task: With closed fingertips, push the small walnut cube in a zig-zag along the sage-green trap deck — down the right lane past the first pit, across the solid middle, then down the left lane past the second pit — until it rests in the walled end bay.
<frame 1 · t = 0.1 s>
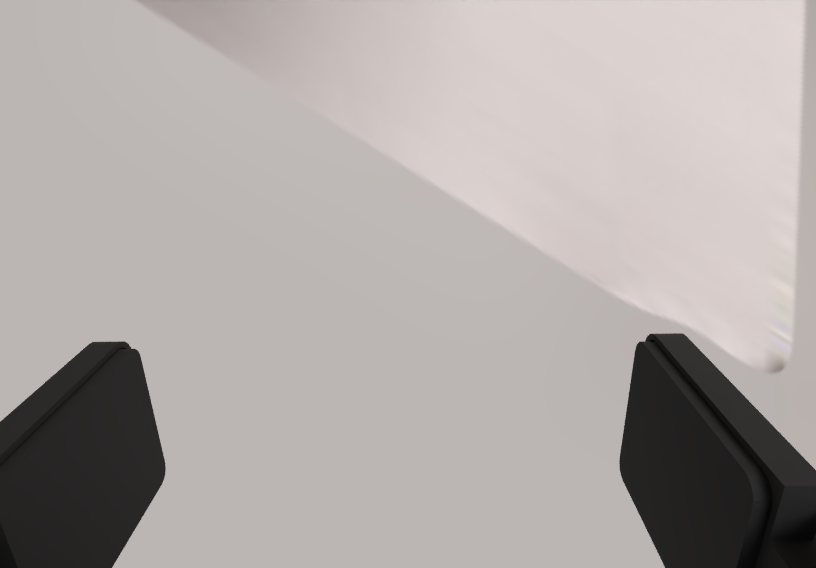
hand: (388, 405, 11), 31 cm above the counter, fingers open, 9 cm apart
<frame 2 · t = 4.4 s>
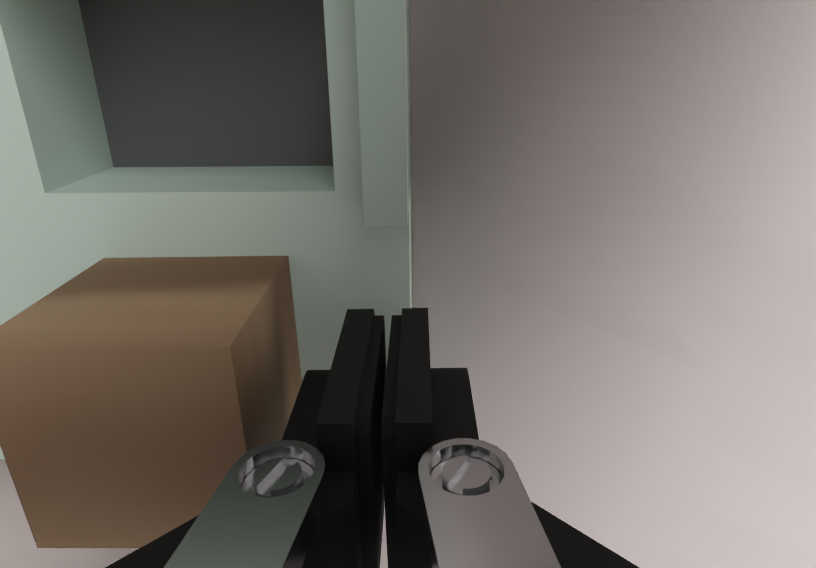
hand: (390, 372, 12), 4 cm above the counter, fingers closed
walnut block: (210, 339, 13), point 3 cm above the counter, touching gripper
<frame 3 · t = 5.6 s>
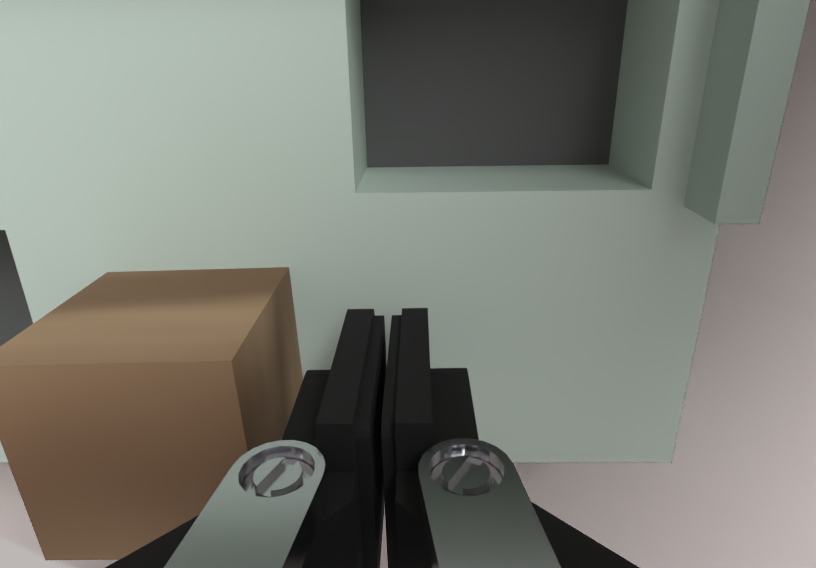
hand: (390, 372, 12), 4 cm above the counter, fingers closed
trap deck: (233, 181, 14), on the counter
walnut block: (213, 350, 13), point 3 cm above the counter, touching gripper, trap deck
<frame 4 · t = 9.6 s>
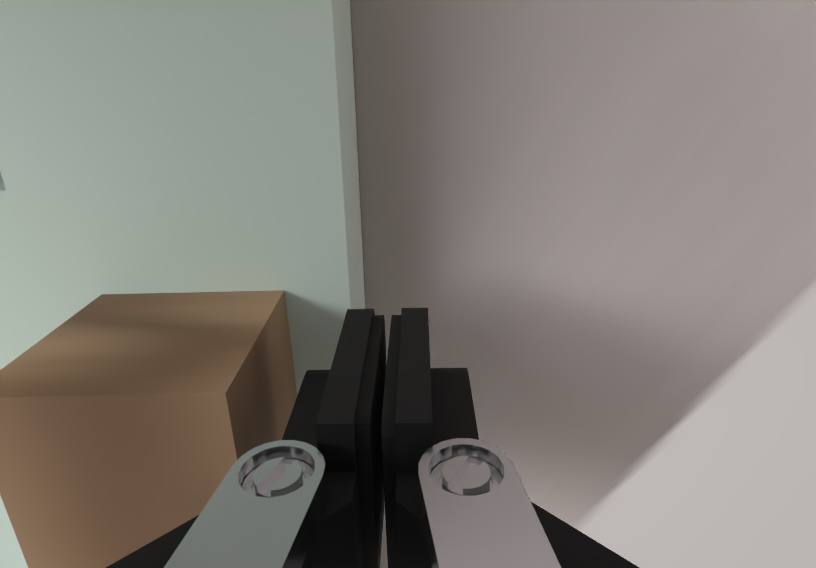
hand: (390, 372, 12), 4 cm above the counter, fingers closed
trap deck: (129, 292, 15), on the counter
walnut block: (207, 372, 13), point 3 cm above the counter, touching gripper
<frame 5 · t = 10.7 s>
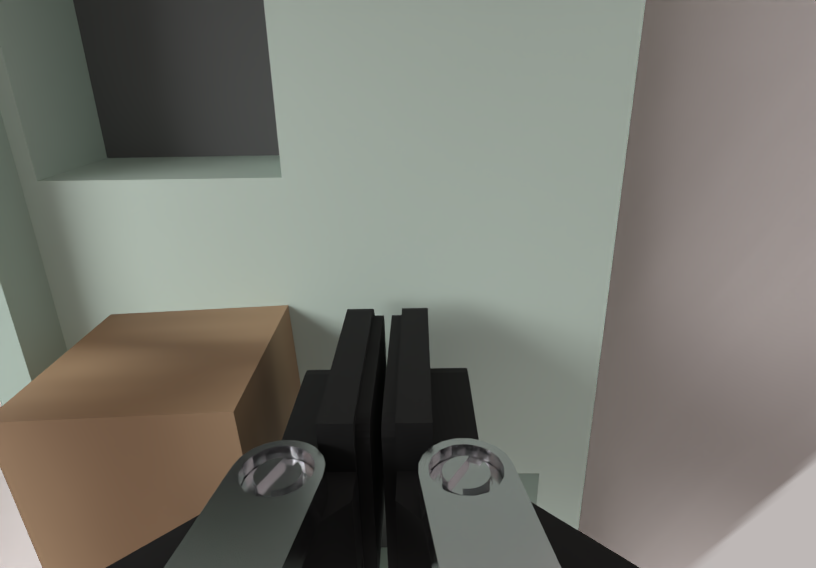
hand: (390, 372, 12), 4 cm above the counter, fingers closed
trap deck: (331, 282, 15), on the counter
walnut block: (216, 386, 13), point 3 cm above the counter, touching gripper
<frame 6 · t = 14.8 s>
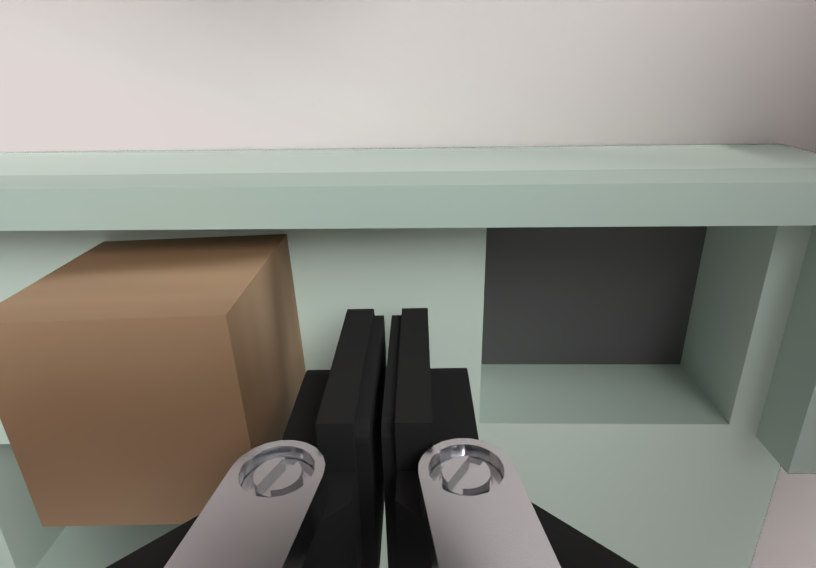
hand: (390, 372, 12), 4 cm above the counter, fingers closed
trap deck: (351, 370, 17), on the counter
walnut block: (211, 321, 13), point 3 cm above the counter, touching gripper
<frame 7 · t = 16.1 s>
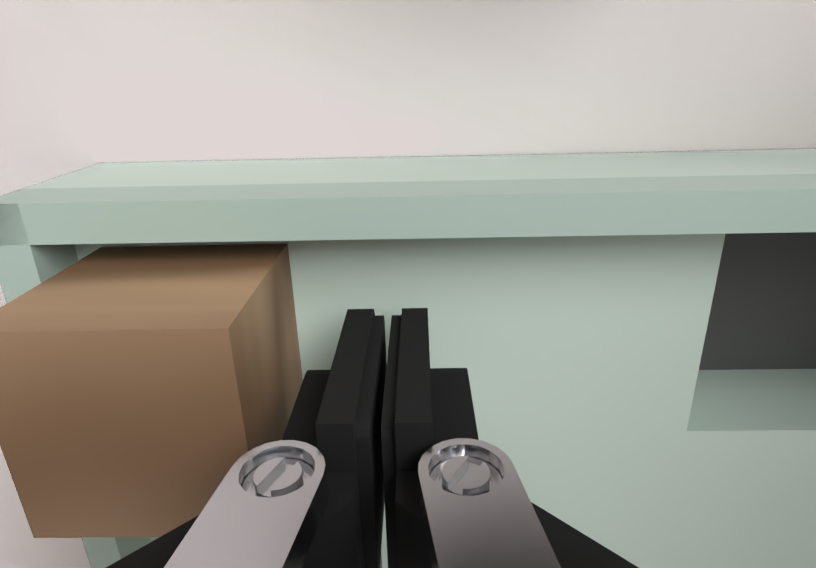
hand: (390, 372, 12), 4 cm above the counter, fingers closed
trap deck: (518, 378, 16), on the counter
walnut block: (209, 329, 13), point 3 cm above the counter, touching gripper, trap deck
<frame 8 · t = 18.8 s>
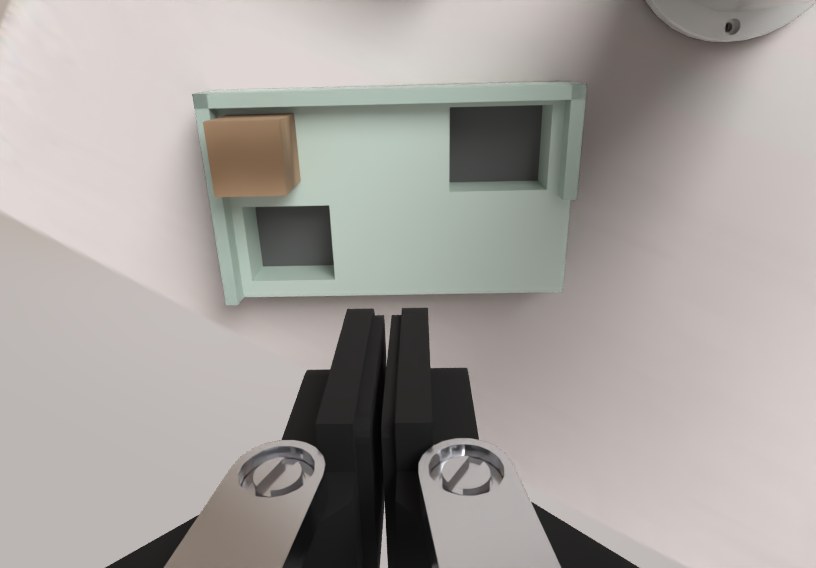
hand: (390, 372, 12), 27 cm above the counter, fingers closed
trap deck: (394, 188, 38), on the counter
walnut block: (264, 148, 34), point 3 cm above the counter, touching trap deck
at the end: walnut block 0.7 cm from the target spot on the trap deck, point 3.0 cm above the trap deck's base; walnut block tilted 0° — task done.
